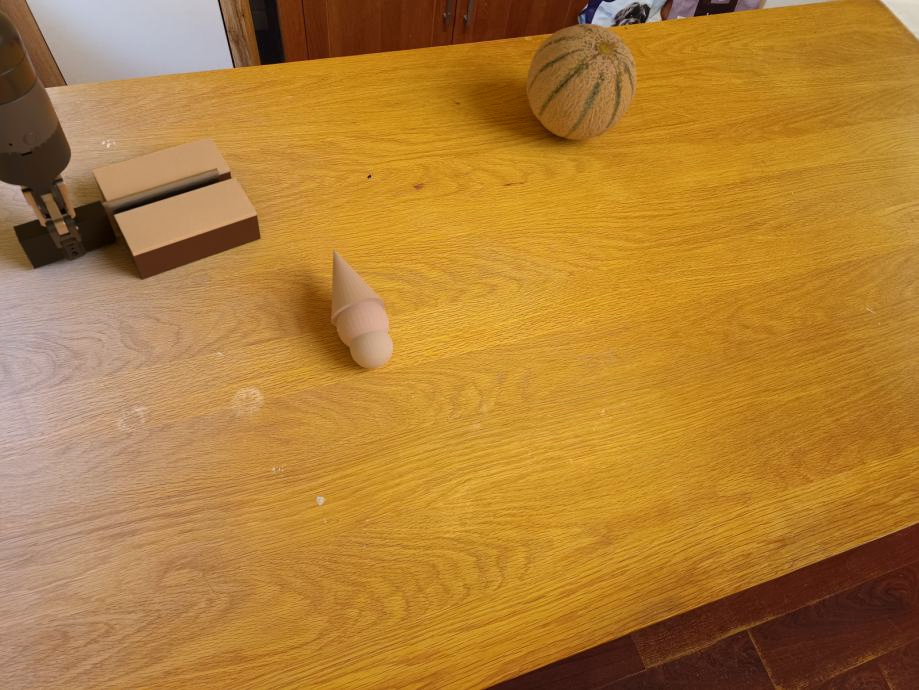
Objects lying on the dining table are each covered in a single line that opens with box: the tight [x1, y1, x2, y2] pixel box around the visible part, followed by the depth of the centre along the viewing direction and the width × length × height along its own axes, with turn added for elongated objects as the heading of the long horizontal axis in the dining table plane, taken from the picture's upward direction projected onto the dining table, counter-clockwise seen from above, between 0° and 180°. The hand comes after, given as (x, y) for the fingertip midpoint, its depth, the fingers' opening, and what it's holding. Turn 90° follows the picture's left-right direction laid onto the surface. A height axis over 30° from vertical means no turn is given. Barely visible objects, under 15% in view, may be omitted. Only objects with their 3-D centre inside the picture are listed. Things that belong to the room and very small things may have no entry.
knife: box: [12, 168, 221, 270], centre depth 83 cm, size 22×2×5 cm, turn 122°
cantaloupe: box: [525, 23, 638, 142], centre depth 100 cm, size 15×15×15 cm
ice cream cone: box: [330, 248, 394, 370], centre depth 80 cm, size 6×6×15 cm
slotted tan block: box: [91, 136, 261, 280], centre depth 86 cm, size 14×14×4 cm
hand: (72, 246), depth 82 cm, fingers closed on knife, 2 cm apart
